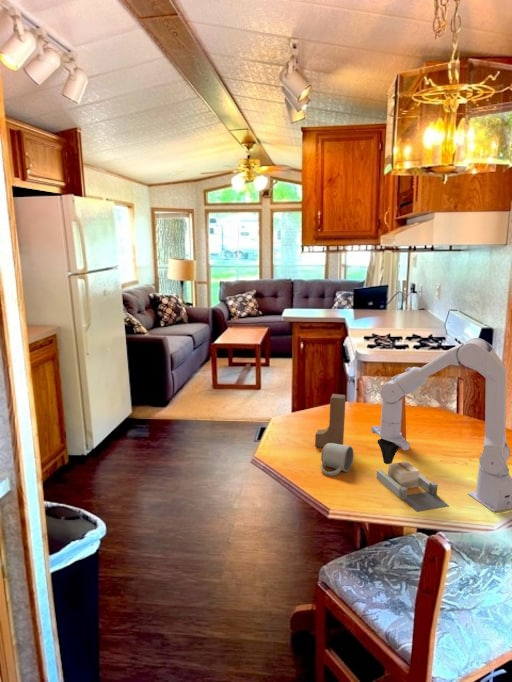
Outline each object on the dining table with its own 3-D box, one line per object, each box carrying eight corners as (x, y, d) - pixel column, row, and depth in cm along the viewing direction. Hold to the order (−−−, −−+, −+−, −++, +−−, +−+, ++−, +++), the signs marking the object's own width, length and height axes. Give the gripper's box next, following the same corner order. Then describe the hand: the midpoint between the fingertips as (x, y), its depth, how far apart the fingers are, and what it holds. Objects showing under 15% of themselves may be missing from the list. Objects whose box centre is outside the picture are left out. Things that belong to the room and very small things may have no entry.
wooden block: (314, 446, 163) (316, 395, 159) (317, 441, 167) (319, 392, 163) (341, 450, 160) (344, 398, 156) (343, 444, 164) (345, 394, 161)
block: (417, 486, 136) (419, 470, 135) (399, 489, 134) (400, 472, 133) (405, 477, 141) (406, 461, 140) (387, 479, 140) (388, 463, 139)
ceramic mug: (329, 459, 153) (330, 437, 151) (353, 466, 149) (354, 443, 147) (314, 473, 144) (315, 449, 143) (340, 480, 140) (341, 456, 138)
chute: (436, 495, 132) (437, 484, 131) (401, 500, 129) (402, 489, 128) (408, 473, 144) (409, 463, 143) (376, 478, 141) (377, 468, 140)
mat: (449, 506, 126) (449, 506, 126) (416, 512, 123) (416, 511, 123) (430, 491, 134) (430, 491, 134) (399, 496, 131) (399, 496, 131)
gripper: (419, 426, 137) (415, 470, 140) (385, 410, 150) (382, 451, 153) (400, 430, 134) (396, 475, 137) (367, 414, 147) (364, 455, 150)
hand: (387, 462), depth 145 cm, fingers closed
